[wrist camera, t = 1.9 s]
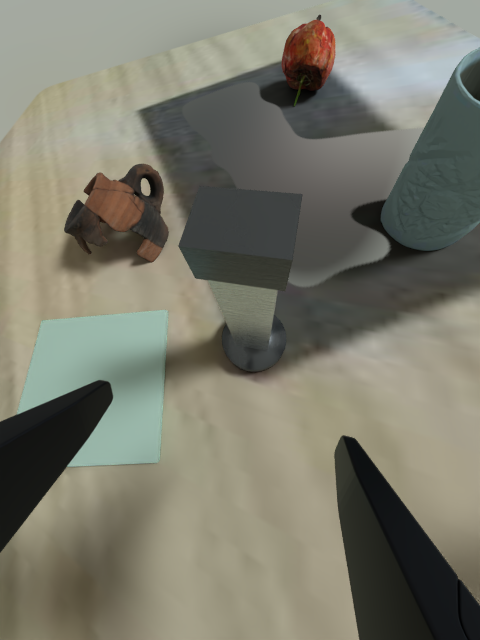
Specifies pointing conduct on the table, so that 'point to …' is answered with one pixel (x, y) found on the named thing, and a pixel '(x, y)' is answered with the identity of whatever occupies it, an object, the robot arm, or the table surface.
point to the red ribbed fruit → (308, 56)
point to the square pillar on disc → (244, 265)
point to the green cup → (441, 170)
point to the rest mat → (109, 365)
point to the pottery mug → (121, 211)
